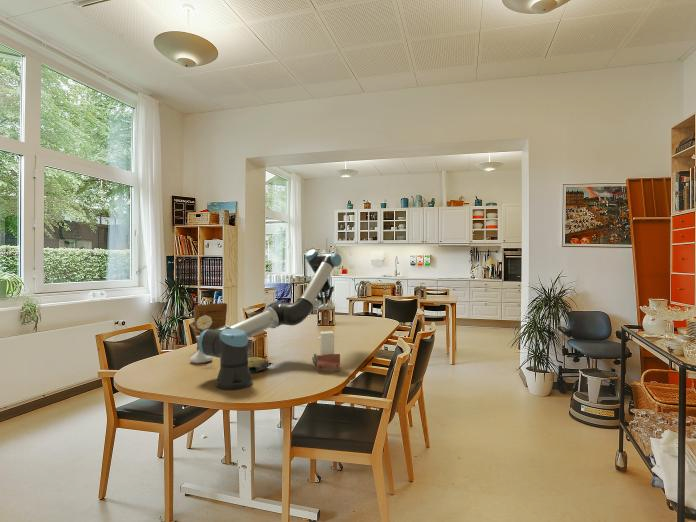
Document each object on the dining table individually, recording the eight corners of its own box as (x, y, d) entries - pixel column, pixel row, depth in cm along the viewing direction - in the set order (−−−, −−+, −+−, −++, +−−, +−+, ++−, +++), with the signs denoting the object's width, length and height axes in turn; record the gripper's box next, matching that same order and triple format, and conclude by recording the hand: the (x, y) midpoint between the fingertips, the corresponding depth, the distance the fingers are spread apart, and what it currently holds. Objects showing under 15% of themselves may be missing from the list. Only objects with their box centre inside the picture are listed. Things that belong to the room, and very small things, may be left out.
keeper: (320, 363, 203) (320, 331, 202) (332, 362, 204) (332, 331, 204) (322, 366, 197) (321, 333, 196) (334, 366, 198) (334, 333, 198)
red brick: (312, 360, 218) (312, 345, 218) (332, 359, 220) (332, 344, 220) (317, 372, 194) (317, 356, 194) (340, 371, 196) (340, 354, 196)
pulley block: (239, 348, 219) (274, 357, 200) (240, 358, 220) (276, 368, 201) (216, 357, 209) (251, 367, 189) (217, 368, 210) (253, 379, 190)
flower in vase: (184, 363, 213) (184, 316, 213) (199, 358, 224) (198, 313, 224) (205, 365, 209) (205, 317, 209) (219, 360, 220) (218, 314, 220)
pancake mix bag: (228, 349, 245) (227, 303, 245) (194, 352, 239) (193, 304, 238) (227, 347, 252) (226, 302, 251) (194, 350, 245) (193, 303, 245)
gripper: (333, 286, 240) (336, 311, 220) (311, 287, 239) (313, 313, 219) (332, 275, 236) (336, 300, 216) (311, 276, 235) (312, 302, 215)
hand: (324, 306), depth 218 cm, fingers closed
